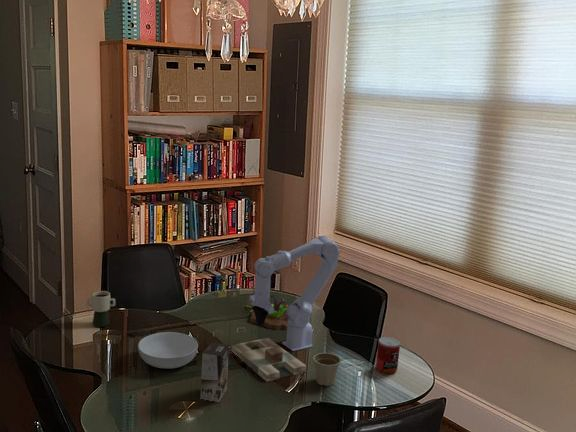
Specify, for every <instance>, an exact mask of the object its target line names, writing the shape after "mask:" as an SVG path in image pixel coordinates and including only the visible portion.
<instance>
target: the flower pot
mask: <svg viewBox="0 0 576 432" xmlns="http://www.w3.org/2000/svg"><path fill="white" fill-rule="evenodd" d="M313 362H314V366H315V379H316V380H315V381H316V383H317V384H318V385H320V386H326V387H328V386H329V387H330V386H333V385H334V384H335V382H336V378H337V372H338V368H339V366H340V363H342V359H341V357H340V356H338V355H337V354H334V353H331V352H320V353H317V354H314V355H313Z"/></svg>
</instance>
